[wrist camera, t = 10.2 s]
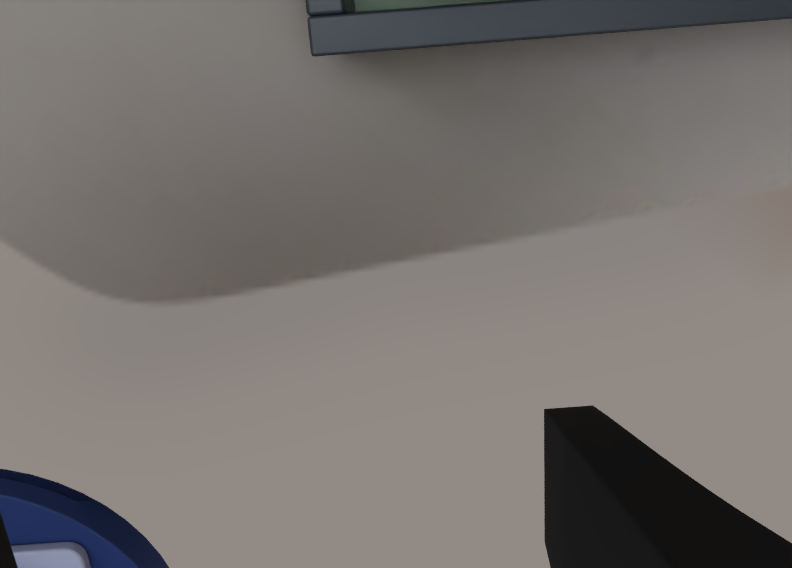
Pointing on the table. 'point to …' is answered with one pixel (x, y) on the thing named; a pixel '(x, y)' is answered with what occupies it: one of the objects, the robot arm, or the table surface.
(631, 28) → the tray
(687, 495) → the robot arm
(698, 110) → the table surface
